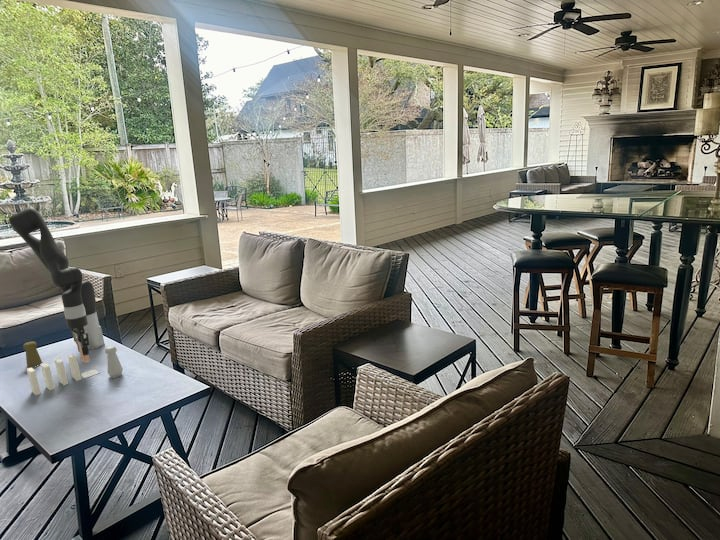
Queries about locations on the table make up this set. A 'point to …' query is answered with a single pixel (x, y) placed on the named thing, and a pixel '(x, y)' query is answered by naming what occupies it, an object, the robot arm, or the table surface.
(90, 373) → the block
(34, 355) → the cork
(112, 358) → the salt shaker
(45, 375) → the domino
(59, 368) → the domino
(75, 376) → the domino
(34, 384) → the domino
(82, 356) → the domino
